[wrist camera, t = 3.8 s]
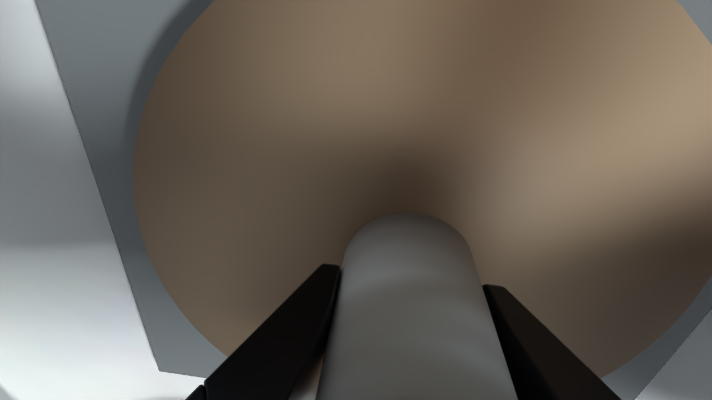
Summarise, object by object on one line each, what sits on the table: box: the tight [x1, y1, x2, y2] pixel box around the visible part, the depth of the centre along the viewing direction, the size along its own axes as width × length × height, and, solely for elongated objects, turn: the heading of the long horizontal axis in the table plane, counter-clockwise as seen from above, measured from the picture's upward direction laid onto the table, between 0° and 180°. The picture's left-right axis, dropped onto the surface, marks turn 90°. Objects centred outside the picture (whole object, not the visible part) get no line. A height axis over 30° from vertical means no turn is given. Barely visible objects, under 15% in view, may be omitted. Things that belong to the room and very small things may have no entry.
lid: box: [133, 0, 712, 400], centre depth 7 cm, size 13×13×5 cm
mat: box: [36, 0, 712, 400], centre depth 9 cm, size 16×14×1 cm
